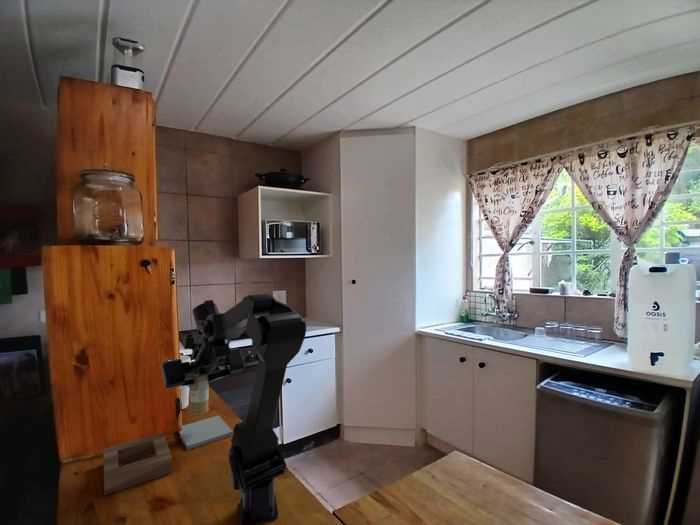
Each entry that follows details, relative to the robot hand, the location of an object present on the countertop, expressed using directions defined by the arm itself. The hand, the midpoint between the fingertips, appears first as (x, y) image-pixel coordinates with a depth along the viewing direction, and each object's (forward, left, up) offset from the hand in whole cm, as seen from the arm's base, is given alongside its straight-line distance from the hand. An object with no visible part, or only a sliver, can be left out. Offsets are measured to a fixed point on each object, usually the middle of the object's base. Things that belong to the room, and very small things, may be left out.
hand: (197, 383), depth 91 cm
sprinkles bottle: (-1, -1, -7) cm, 7 cm away
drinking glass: (+18, +7, -13) cm, 23 cm away
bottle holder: (-12, +11, -13) cm, 21 cm away
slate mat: (-1, -2, -13) cm, 13 cm away
